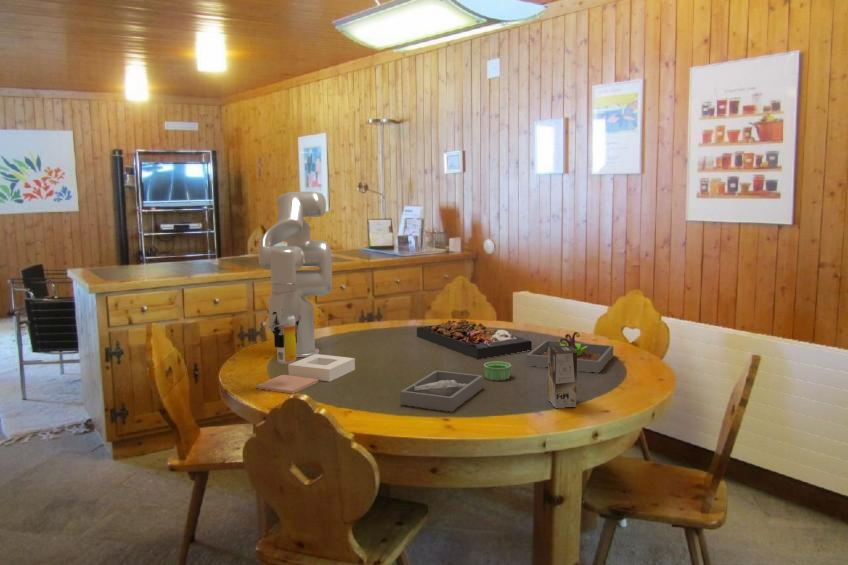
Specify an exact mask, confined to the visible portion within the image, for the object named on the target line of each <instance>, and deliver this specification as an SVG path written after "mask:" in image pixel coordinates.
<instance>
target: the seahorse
mask: <svg viewBox="0 0 848 565" xmlns="http://www.w3.org/2000/svg"><path fill="white" fill-rule="evenodd" d="M466 385H467V384H465V383H464V384H460V383H457V382H456V381H455V380H450V381H449V380H445V381H444V380H440V381H438V382H434V383H428V384H425V385H420V386H418V387H417V386H416V385H413V386H414V389H413V391H412V392H417V393H425V394H433V395H441V396H448V397H450V396H452V395H453V394H454V393H456V392H457V391H459V390H460V389H462V388H463V387H464V386H466Z"/></svg>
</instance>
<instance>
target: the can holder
mask: <svg viewBox="0 0 848 565" xmlns="http://www.w3.org/2000/svg"><path fill="white" fill-rule="evenodd" d="M355 361H356V359H355V358H354V357H347V356H338V355H330V354H329V355H328V354H320V353H318V354H314V355H311V356H309V357H303V358H301V359H299V360H295V362H293V363H289V364H288V367H287V369H288V375H290V376H297V377H305V378H313V379H318V381H323V382H332V381H334V380H336V379H338V378H341V377H342V376H345V375H346V374H349V373H351V372H353V371H355V370H356V362H355Z"/></svg>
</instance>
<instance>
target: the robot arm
mask: <svg viewBox="0 0 848 565" xmlns="http://www.w3.org/2000/svg"><path fill="white" fill-rule="evenodd" d="M276 205H277V210H278V213H277V222H276V223H274V224H273V225H272V226H271V227H270V228H268V229H267V231H265V232H264V234H263V235H262V237H261V239H260V243H259V244H260V245H259V251H258V263H259V266H260V267H261V268H262V269H263V270H269V271H270V281H271V282H270V284H271V285H270V286H271V294H270V295H269V296H270V297H269V302H268V324H267V327H268V328H269V330H270V331H271V333H272V335H273V339H274V340H273V341H274V347H275V348H276V347H279V348H283V347H284V335H282V332H283V326H284V325H286V321H287V319H288V316H292V315H294V317H295V332H296V358H306V357H309V356H311V355H314V354H320V349H319V348H317V347H316V345H315V344H316V343H315V342H316V341H315V338H316V337H315V314H314V313H315V312H314V311H315V309H314V305H313V304H312V301H310V300H309V298H308V297H310V296H311V297H312V296H327V295H329V294H331V293H332V290H333V269H332V268H333V266H332V265H333V263H332V262H333V261H332V248H331V246H330V243H328V242H327V241H326V240H312V239H311V227H310V225H309V223H308V222H307V220H306V219H305V218H306V217H307V218H310V217H311V218H314V217H315V218H316V217H319V218H320V217H323V216H324V215H325V213H326V211H327V210H326V209H327V202H326V198H325V196H324V194H323V193H322V192H320V191H319V192H317V191H288V192H285V193H284V194H280V195H278V197H277V199H276ZM285 241H287V242H286V244H287V245H277V244H280V243H282V242H285ZM301 267H317V268H318V269H301ZM277 323H279V325H277ZM277 327H280V329H278V328H277Z"/></svg>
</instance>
